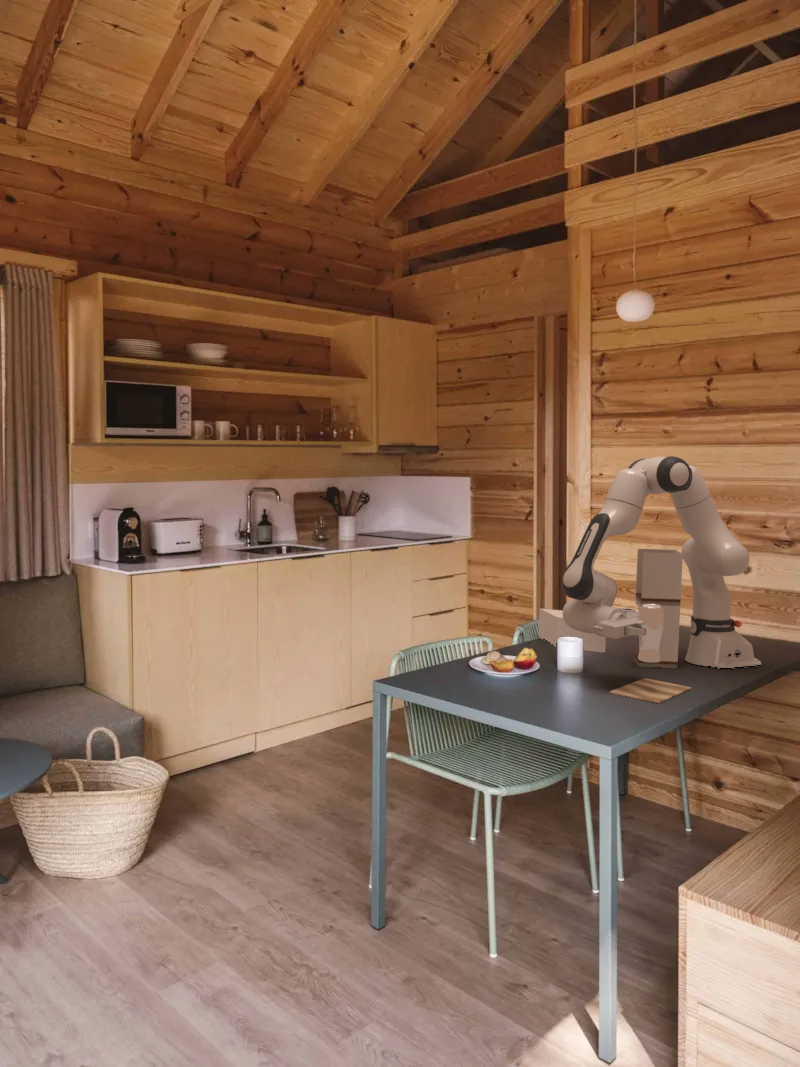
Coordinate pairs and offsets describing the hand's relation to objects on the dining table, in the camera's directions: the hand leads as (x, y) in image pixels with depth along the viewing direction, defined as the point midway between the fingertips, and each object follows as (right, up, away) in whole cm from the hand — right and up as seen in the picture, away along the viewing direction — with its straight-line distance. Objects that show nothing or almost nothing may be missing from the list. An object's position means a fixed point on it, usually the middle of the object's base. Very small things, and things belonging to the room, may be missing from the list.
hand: (653, 631), depth 236 cm
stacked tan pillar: (+10, -14, +33) cm, 38 cm away
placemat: (0, -17, +2) cm, 17 cm away
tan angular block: (-11, -11, +58) cm, 60 cm away
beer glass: (-1, -8, +2) cm, 8 cm away
